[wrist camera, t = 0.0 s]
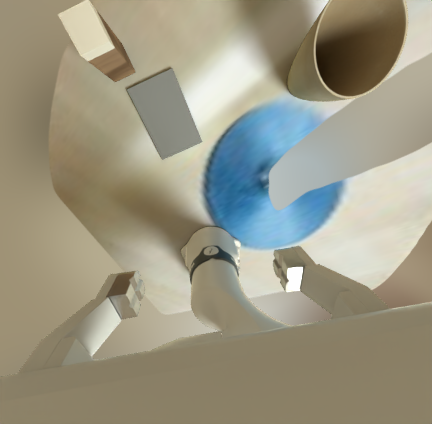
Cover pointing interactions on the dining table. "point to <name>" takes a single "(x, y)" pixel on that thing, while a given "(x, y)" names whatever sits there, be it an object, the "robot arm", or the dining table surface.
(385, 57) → the plant pot
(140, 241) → the dining table surface
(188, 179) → the dining table surface
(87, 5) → the walnut block
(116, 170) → the dining table surface
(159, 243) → the dining table surface
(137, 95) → the grey mat
